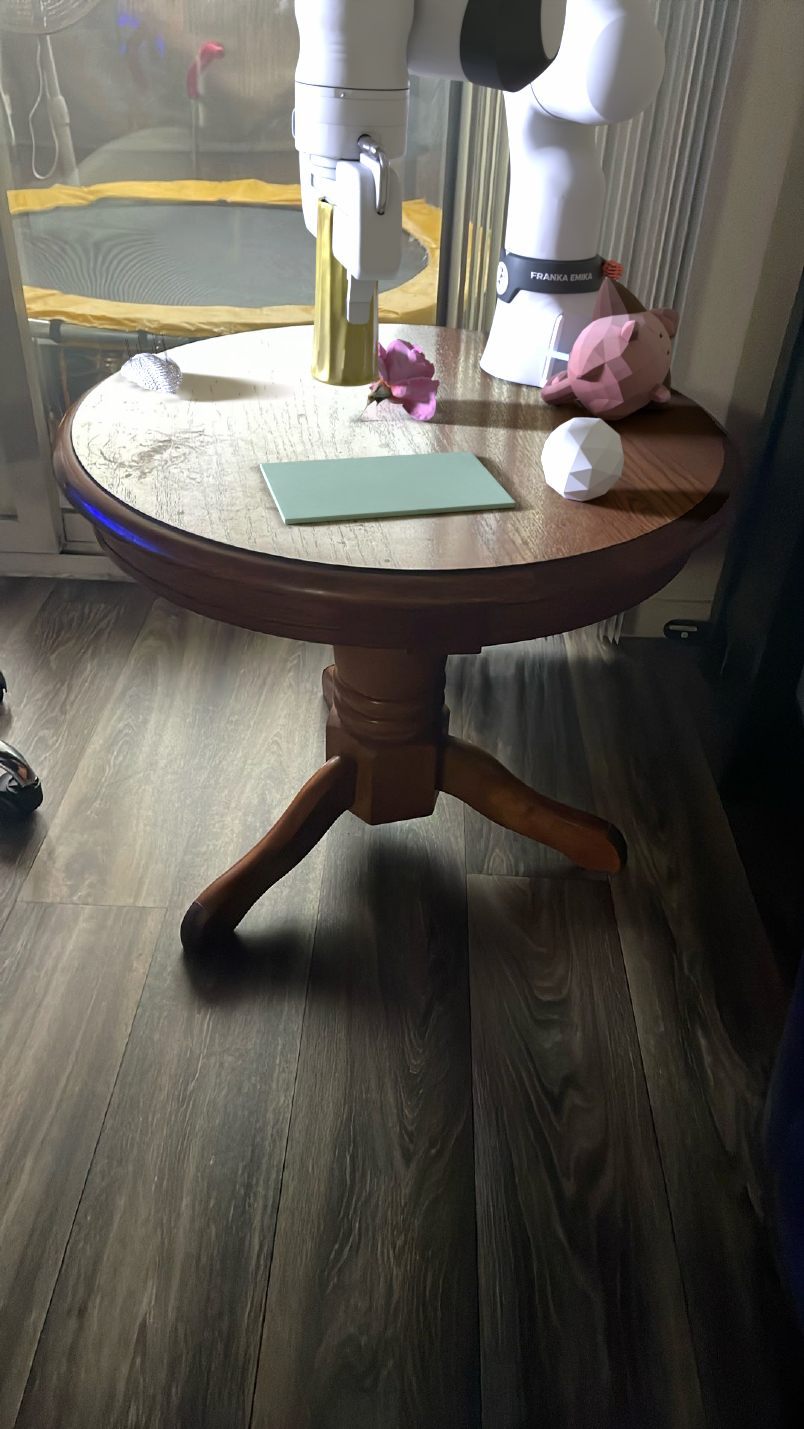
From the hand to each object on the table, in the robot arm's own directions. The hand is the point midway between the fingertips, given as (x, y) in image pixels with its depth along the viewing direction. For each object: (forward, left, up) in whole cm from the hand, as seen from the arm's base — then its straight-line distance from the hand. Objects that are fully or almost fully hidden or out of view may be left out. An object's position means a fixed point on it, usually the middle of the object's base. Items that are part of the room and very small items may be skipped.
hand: (347, 311), depth 89 cm
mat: (-4, 0, -16) cm, 17 cm away
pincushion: (+15, -33, -17) cm, 40 cm away
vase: (0, 0, -6) cm, 6 cm away
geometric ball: (-22, +5, -17) cm, 28 cm away
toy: (-30, -14, -14) cm, 36 cm away
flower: (-11, -21, -17) cm, 29 cm away
